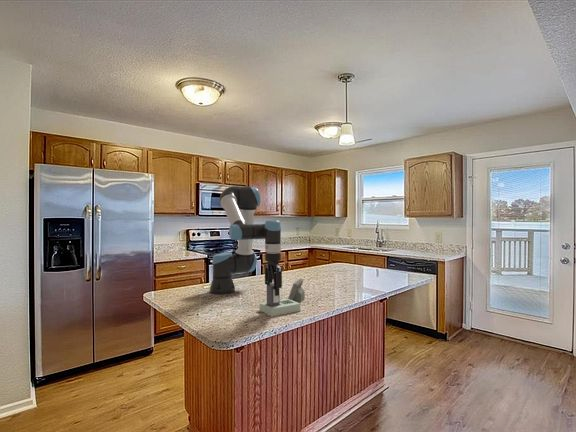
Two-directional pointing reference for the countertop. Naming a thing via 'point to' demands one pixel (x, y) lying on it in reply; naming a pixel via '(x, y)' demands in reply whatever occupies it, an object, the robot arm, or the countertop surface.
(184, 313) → the countertop surface
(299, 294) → the digital clock
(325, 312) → the countertop surface
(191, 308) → the countertop surface
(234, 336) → the countertop surface
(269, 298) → the charger
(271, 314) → the outlet plate
